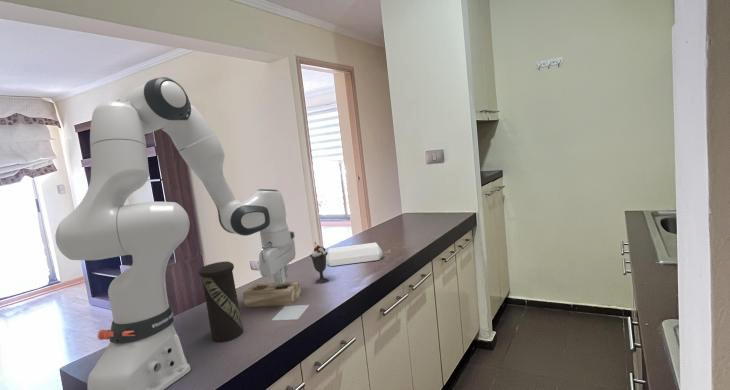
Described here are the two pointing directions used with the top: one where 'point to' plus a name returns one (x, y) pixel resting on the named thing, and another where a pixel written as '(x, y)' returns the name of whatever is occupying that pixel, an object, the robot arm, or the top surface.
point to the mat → (290, 312)
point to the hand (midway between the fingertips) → (281, 281)
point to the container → (221, 301)
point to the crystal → (353, 254)
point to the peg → (283, 284)
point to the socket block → (271, 294)
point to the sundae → (319, 262)
